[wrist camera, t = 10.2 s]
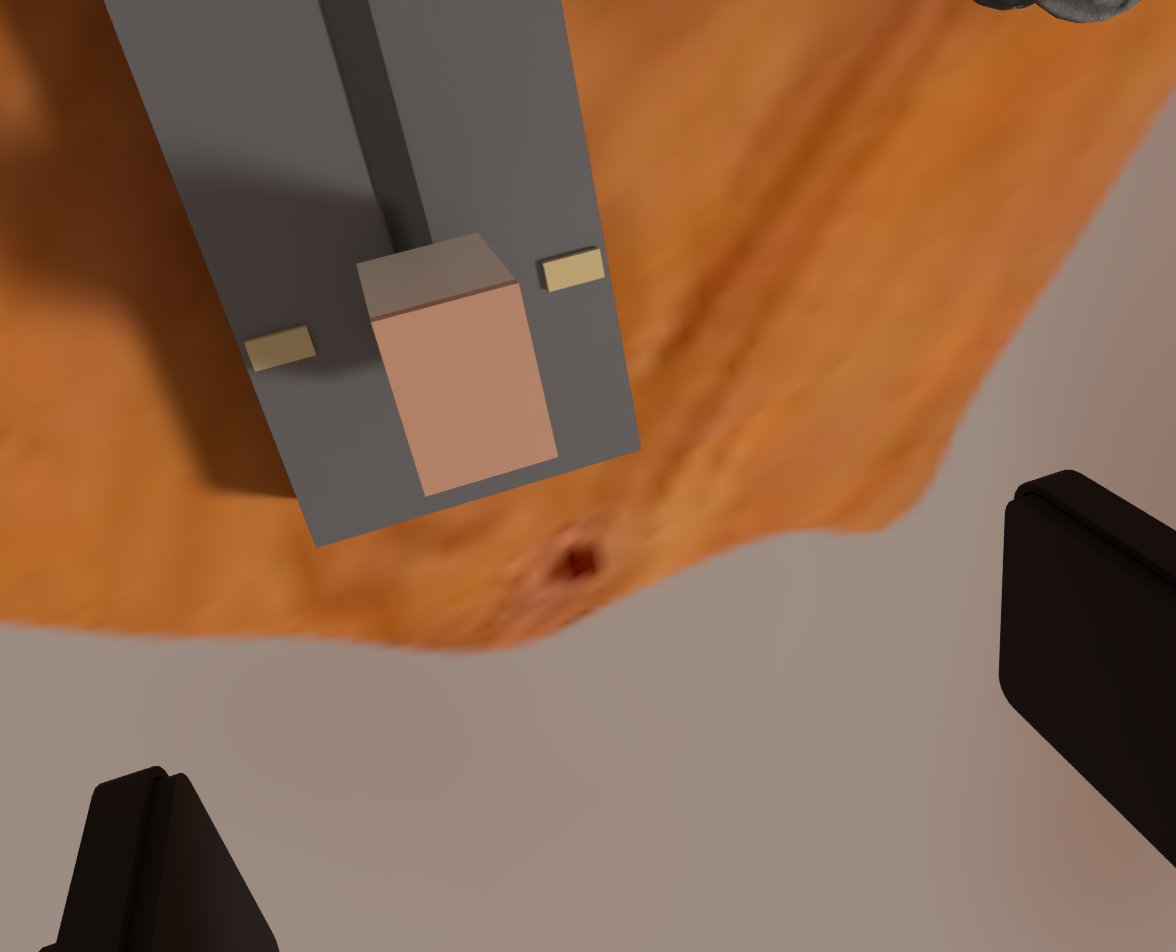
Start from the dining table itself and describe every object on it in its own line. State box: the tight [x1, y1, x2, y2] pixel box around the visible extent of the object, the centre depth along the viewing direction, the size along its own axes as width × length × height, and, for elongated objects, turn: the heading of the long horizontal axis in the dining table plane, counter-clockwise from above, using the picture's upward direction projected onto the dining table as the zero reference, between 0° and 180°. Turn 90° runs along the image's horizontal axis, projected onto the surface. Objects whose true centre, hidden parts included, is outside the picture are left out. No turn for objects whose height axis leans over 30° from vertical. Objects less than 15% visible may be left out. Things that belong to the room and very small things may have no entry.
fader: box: [356, 233, 558, 497], centre depth 23 cm, size 4×3×6 cm
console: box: [104, 0, 641, 548], centre depth 23 cm, size 26×10×3 cm, turn 11°
